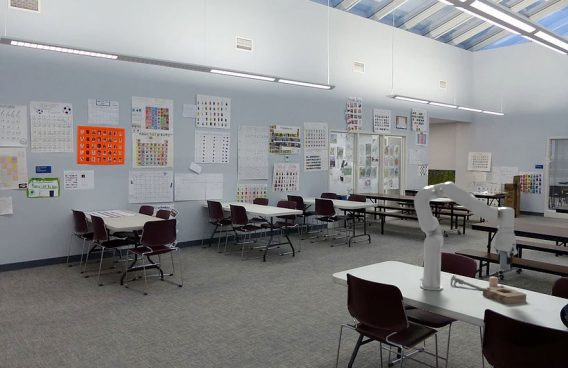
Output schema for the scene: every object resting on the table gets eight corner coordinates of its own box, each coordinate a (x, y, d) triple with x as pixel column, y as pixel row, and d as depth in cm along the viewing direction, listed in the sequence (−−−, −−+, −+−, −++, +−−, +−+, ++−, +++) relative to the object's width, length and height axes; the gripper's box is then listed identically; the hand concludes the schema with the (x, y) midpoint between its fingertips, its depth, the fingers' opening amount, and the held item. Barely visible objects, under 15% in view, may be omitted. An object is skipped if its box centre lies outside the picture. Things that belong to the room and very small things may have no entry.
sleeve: (497, 268, 239) (498, 250, 238) (504, 267, 240) (505, 249, 240) (505, 270, 234) (505, 252, 233) (512, 269, 236) (512, 251, 235)
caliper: (450, 285, 263) (450, 274, 263) (451, 284, 264) (451, 274, 264) (486, 291, 250) (486, 281, 250) (486, 291, 251) (487, 280, 251)
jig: (482, 295, 243) (483, 286, 243) (501, 292, 248) (501, 284, 248) (506, 304, 228) (507, 295, 228) (526, 301, 233) (526, 292, 233)
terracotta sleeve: (487, 290, 252) (487, 276, 252) (492, 289, 254) (493, 276, 253) (493, 292, 248) (493, 278, 248) (499, 291, 250) (499, 278, 249)
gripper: (488, 228, 243) (487, 260, 244) (514, 232, 227) (513, 267, 228) (498, 227, 245) (497, 259, 246) (524, 232, 229) (523, 266, 230)
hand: (505, 262), depth 237 cm, fingers closed on sleeve, 5 cm apart
